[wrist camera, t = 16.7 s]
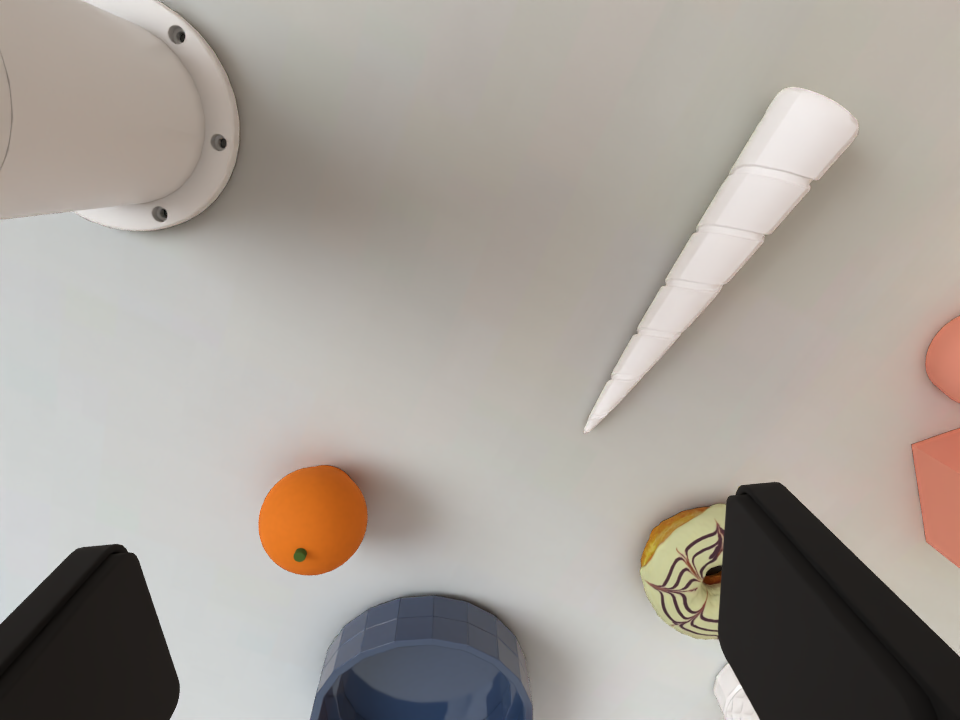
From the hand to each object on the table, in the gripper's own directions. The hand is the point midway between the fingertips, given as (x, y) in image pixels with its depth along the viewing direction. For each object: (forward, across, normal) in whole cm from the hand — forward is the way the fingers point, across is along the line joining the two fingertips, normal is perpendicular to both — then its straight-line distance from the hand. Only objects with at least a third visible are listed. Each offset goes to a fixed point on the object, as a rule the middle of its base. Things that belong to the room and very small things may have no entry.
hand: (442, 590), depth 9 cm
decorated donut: (+28, -17, +23) cm, 41 cm away
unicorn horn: (+28, -15, +1) cm, 32 cm away
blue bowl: (+28, +5, +32) cm, 43 cm away
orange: (+28, +10, +15) cm, 33 cm away
